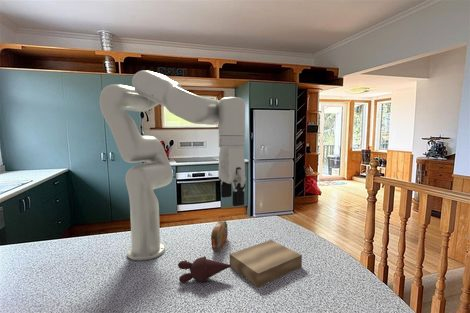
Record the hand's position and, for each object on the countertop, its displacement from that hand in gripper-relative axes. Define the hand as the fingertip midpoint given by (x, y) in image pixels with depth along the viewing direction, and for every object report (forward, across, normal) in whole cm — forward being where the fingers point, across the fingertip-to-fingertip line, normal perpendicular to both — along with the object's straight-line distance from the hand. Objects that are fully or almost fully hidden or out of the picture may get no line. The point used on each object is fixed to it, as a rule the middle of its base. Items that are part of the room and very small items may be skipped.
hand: (232, 200), depth 73 cm
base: (+23, -1, +12) cm, 25 cm away
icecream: (+23, -1, -8) cm, 24 cm away
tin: (+23, -20, +3) cm, 31 cm away
